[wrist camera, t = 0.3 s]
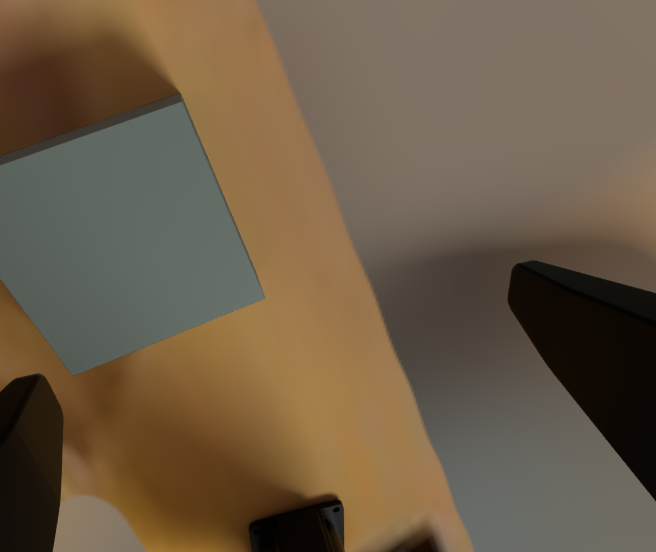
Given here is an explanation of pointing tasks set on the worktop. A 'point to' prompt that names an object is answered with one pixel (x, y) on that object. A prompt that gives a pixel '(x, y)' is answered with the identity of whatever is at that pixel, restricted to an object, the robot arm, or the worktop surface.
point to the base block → (120, 235)
